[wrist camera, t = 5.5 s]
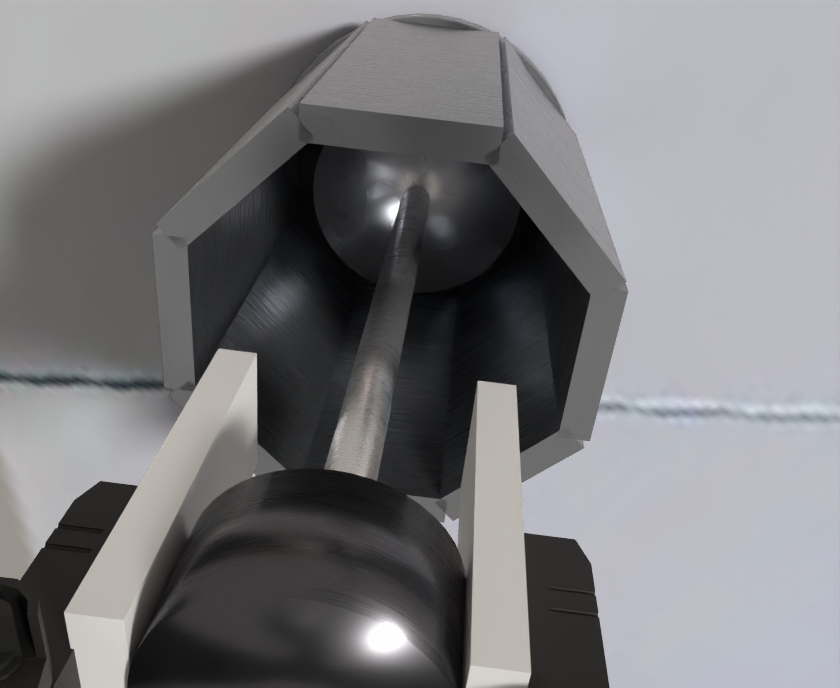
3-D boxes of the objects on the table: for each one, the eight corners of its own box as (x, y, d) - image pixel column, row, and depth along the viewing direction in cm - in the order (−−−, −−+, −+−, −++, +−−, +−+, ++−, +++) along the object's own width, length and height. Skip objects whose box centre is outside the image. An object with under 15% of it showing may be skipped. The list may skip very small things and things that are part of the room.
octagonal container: (277, -4, 27) (129, 73, 16) (600, 33, 27) (678, 137, 16) (275, 347, 35) (171, 570, 23) (531, 379, 34) (550, 619, 23)
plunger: (320, 75, 26) (-28, 468, 9) (535, 100, 26) (630, 552, 9) (314, 271, 30) (59, 830, 12) (503, 294, 30) (522, 892, 12)
